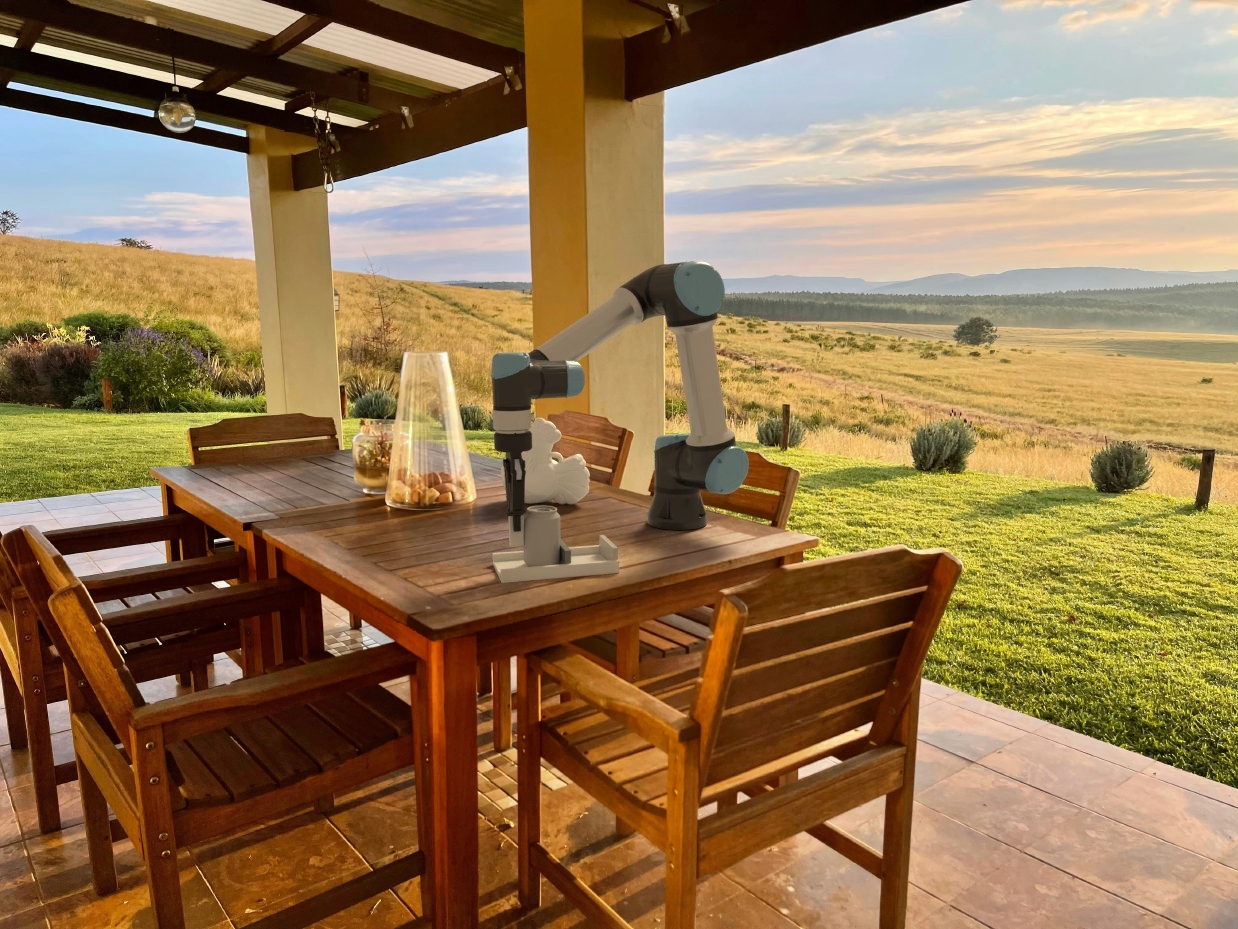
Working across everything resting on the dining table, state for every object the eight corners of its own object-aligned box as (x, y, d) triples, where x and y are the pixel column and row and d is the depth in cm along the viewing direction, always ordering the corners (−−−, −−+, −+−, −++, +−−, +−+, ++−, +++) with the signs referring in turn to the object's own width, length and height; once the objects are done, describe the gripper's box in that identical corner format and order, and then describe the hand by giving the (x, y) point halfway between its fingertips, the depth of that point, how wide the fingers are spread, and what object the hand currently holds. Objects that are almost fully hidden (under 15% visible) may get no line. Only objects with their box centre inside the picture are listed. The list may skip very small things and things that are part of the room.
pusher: (560, 555, 173) (560, 537, 173) (571, 569, 164) (571, 550, 163) (554, 556, 173) (554, 538, 172) (565, 570, 163) (565, 550, 163)
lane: (602, 555, 178) (602, 533, 177) (619, 572, 165) (619, 549, 164) (492, 564, 171) (492, 541, 170) (501, 582, 159) (500, 558, 158)
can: (564, 560, 170) (564, 505, 168) (554, 571, 163) (554, 512, 161) (529, 558, 172) (529, 503, 170) (518, 568, 164) (518, 510, 162)
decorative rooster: (483, 479, 230) (514, 416, 216) (518, 461, 243) (550, 400, 228) (545, 538, 225) (581, 477, 210) (578, 517, 237) (614, 458, 223)
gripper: (537, 434, 156) (540, 552, 160) (526, 426, 168) (529, 536, 172) (498, 435, 154) (502, 555, 158) (489, 427, 166) (493, 539, 170)
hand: (516, 545), depth 165 cm, fingers closed
